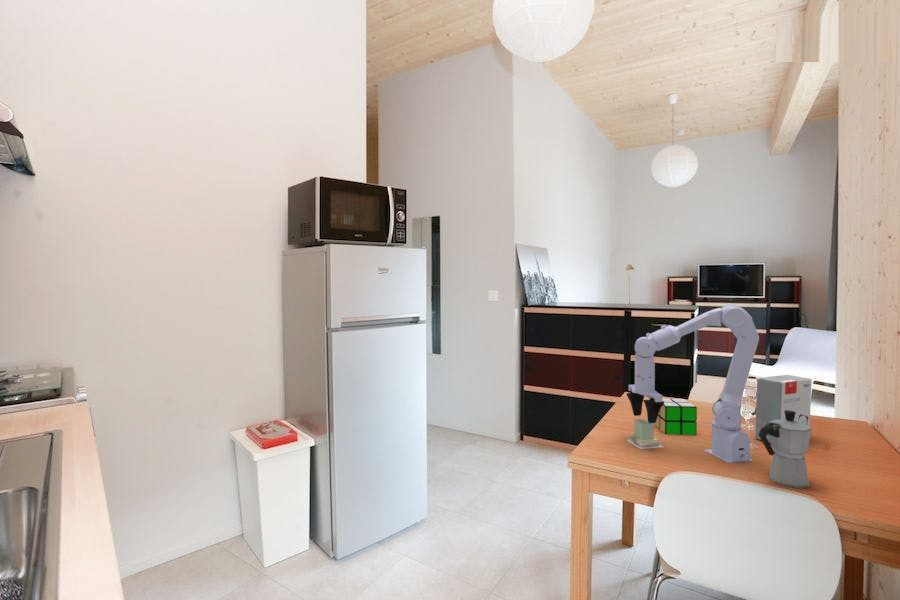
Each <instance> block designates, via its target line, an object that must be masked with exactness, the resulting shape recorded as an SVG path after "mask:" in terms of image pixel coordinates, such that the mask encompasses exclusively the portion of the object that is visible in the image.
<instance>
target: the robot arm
mask: <svg viewBox="0 0 900 600" xmlns="http://www.w3.org/2000/svg"><path fill="white" fill-rule="evenodd" d="M722 324H723V325H724V326H725V327H727V328H728V329H729V330H730V331H731V333H733V335H734V336H735V337H736V339H737V340H736V344H735V347H734V350H733V354H732V357H731V361H730V364H729V367H728V371H727V375H726V377H725V380H724V385H723V388H722V390H721V392H720V393H719V397H718V398H717V400H716V401H715V402H714V403H713V404H712V406H711V410H712V413H713V415H714V416H715V418H714V419H713V420H712V421H711V448H710V449H709V448H708V449H704V452H706V453H709V454H710V455H712V456H714V457H717V458H718V459H719V460H722V461H724V462H725V463H730V464H731V463H740V462H741V463H742V462H753V461H754V460H753V459H752V458H751V438H750V436H749V435H748V433H747V432H746V433H745V432H744V430H743V429H742V426H741V423H742V419H743V418H742V417H743V416H742V414H741V409H742V405H743V404H742V402H743V401H742V398H743V394H744V391H745V388H746V384H747V381H748V378H749V375H750V372H751V367H752V365H753V360H754V357H755V355H756V351H757V347H758V344H759V341H760V336H759V333H758V331H757V328H756V325H755V323H754V321H753V316H751V315H750V314H749V312H748V311H746V309H744V308H743V307H741V306H737V305H735V304H725V305H723V306H722V307H717V308H714V309H711V310H709V311H705V312H703V313H701V314H700V315H698V316H695V317H694V318H692V319H689V320H688V321H685V322H684V323H681V324H679V325H677V326H673V325H671V324H669V325H667V326H666V325H662V326H660V329H657V330H655V331H654V332H652V333H650V332H647V333H646V334H645V336H641V337H639V338H638V339H636V341H635V344H634V351H635V354H634V359H635V360H634V384H628V391H629V392H627V393H626V396H627V398H628V400H629V403H630V406H631V410H632V413H633V416H635V417H637V416H638V417H639V416H641V415H642V412H643V403H644V405H645V408H646V409H645V410H646V414H647V415H646V416H647V420H648V422H649V423H654V424H655V423H656V420H657V417H658V413H659V411H660V409H661V407H662V406H663V404H664V401H662V399H663V395H662V394H661V393H659V392H658V391H657V390H655V389H656V388H655V387H656V386H655V385H656V383H655V381H656V376H655V375H656V373H655V372H656V369H655V367H656V363H655V358H654V354H655V353H656V352H657V351H658V352H659V351H661V350H664V349H667V348H669V347H671V346H674V345H676V344H678V343H680V341H681V338H682V337H684V336H686V335H688V334H690V333H693V332H695V331H699V330H701V329H703V328H705V327H708V326H712V327H713V326H714V327H721V326H722ZM644 398H648V399H644Z"/></svg>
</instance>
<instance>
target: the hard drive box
mask: <svg viewBox="0 0 900 600" xmlns="http://www.w3.org/2000/svg"><path fill="white" fill-rule="evenodd" d="M756 380H757V381H756V403H755V406H756V407H755V422H754V423H755V424H754V425H755V426H754V439H757V440H759V441H762V440H761V438H760V437H759V433H760V430H761V428H762V427H764V426H766V424H767V423H769V422H770V421H773V420H782V419H786V418H785V412H784V411H785V410H790V411H794V412H796V414H795V418H794V421H797V422H800V423H803V424H806V425H810V426H811V406H812V405H811V402H812V381H813V379H812V378H806V377H802V376H796V375H791V374H781V375H774V376H765V377H758V378H757V379H756ZM766 438H767V440H768V441H769V443H770V445H772V443H771V435H768V434H767V436H766Z"/></svg>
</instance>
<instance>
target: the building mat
mask: <svg viewBox="0 0 900 600" xmlns="http://www.w3.org/2000/svg"><path fill="white" fill-rule="evenodd" d="M625 441H626V442H628V443H629V444H631V445H633V446H634V447H636V448H637V449H639V450H645V449H646V450H647V449H656V448H657V449H659V448H664V446H663V445H661V444H659V446H653V447H639V446H638V445H636V444H635V443H633V442H631V441H630V438H629V439H625Z"/></svg>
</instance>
